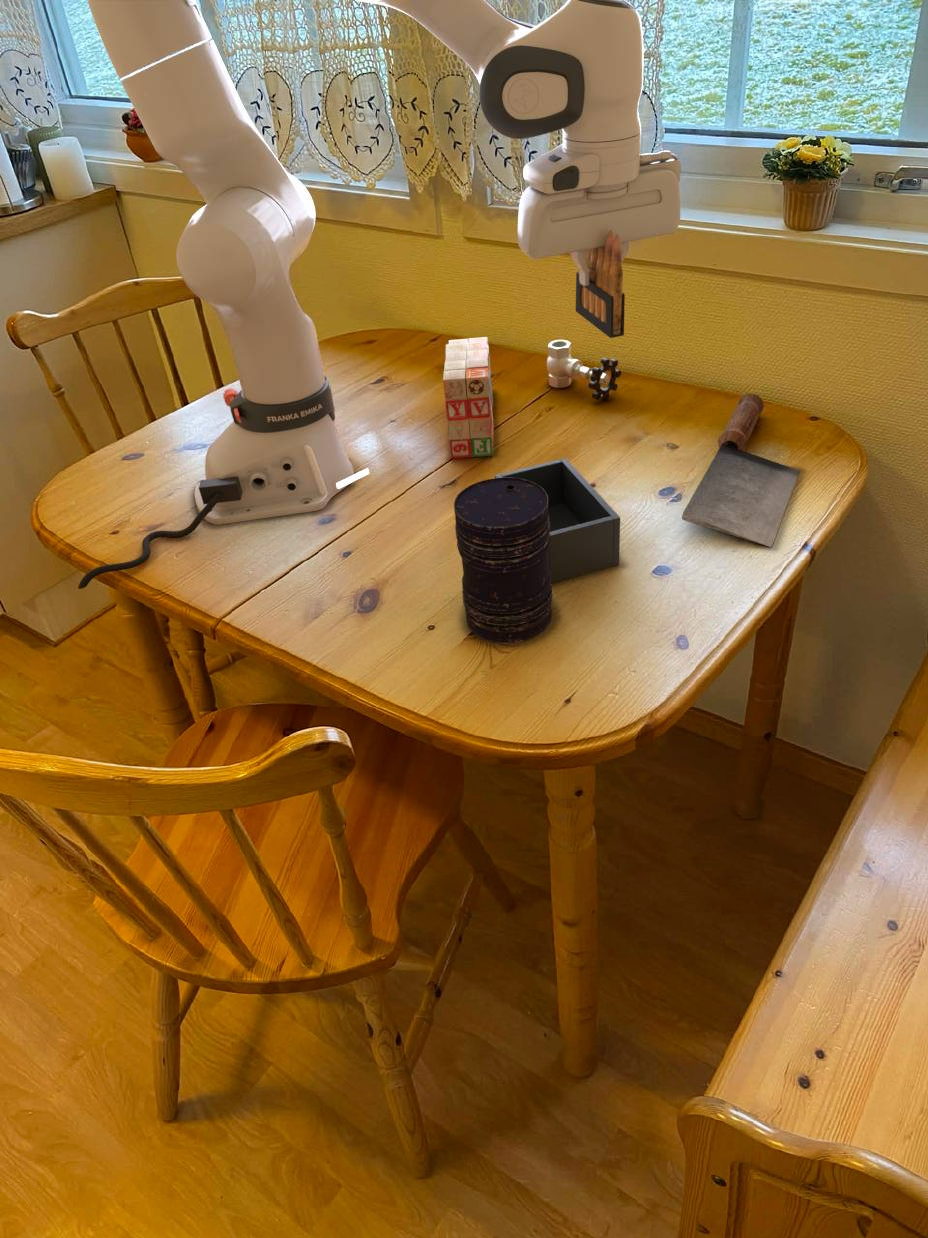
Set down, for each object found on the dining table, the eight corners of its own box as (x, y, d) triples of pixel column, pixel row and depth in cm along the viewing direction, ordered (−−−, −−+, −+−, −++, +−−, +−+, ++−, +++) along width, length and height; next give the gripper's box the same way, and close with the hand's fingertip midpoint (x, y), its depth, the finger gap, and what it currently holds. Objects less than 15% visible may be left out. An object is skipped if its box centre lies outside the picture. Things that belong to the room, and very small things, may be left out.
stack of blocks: (454, 394, 150) (446, 320, 142) (492, 391, 149) (487, 316, 141) (450, 459, 133) (442, 378, 125) (494, 456, 132) (488, 375, 125)
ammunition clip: (575, 310, 123) (575, 215, 115) (587, 307, 123) (589, 213, 116) (610, 338, 115) (613, 237, 107) (624, 335, 115) (628, 235, 107)
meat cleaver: (772, 547, 109) (777, 518, 107) (678, 531, 114) (680, 503, 111) (817, 423, 133) (821, 396, 130) (737, 413, 137) (740, 388, 134)
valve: (536, 387, 149) (593, 407, 142) (535, 347, 145) (593, 366, 138) (564, 373, 152) (621, 392, 145) (563, 334, 148) (622, 352, 141)
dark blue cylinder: (535, 652, 98) (530, 534, 89) (451, 635, 102) (437, 520, 92) (564, 597, 105) (562, 483, 96) (484, 583, 109) (474, 471, 99)
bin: (544, 585, 107) (542, 538, 103) (497, 519, 119) (494, 474, 115) (619, 564, 109) (620, 517, 105) (566, 502, 121) (565, 457, 117)
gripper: (668, 142, 112) (661, 259, 120) (510, 168, 107) (514, 288, 116) (695, 152, 107) (686, 273, 115) (530, 180, 103) (534, 304, 111)
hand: (599, 281), depth 116 cm, fingers closed on ammunition clip, 2 cm apart
